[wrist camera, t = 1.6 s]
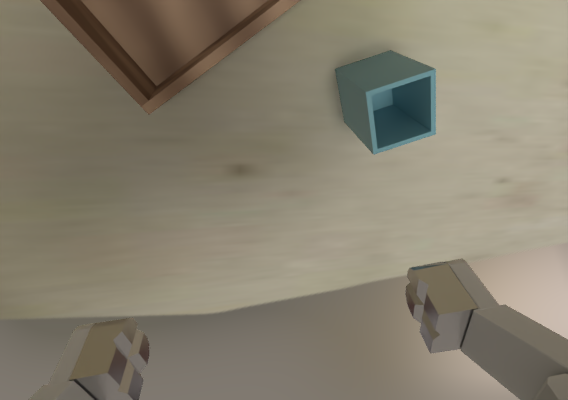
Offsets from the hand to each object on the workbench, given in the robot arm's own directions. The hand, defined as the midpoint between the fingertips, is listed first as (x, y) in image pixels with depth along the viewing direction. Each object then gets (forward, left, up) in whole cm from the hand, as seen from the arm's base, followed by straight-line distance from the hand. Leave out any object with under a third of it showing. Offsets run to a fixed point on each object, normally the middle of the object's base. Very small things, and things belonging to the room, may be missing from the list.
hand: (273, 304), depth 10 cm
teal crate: (+10, -8, -26) cm, 29 cm away
